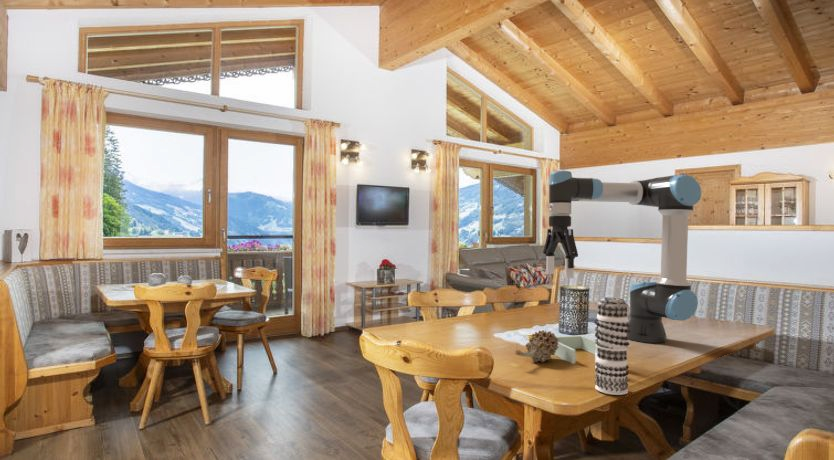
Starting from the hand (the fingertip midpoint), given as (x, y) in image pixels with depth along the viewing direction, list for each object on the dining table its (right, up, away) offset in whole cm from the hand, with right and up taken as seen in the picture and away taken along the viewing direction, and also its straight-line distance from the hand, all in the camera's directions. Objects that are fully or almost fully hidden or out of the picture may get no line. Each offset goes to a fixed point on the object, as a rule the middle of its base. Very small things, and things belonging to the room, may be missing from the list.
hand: (559, 276), depth 170 cm
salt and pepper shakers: (+10, -28, -17) cm, 34 cm away
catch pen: (+6, -28, -1) cm, 28 cm away
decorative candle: (+3, -28, -37) cm, 46 cm away
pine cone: (-11, -28, -11) cm, 32 cm away
